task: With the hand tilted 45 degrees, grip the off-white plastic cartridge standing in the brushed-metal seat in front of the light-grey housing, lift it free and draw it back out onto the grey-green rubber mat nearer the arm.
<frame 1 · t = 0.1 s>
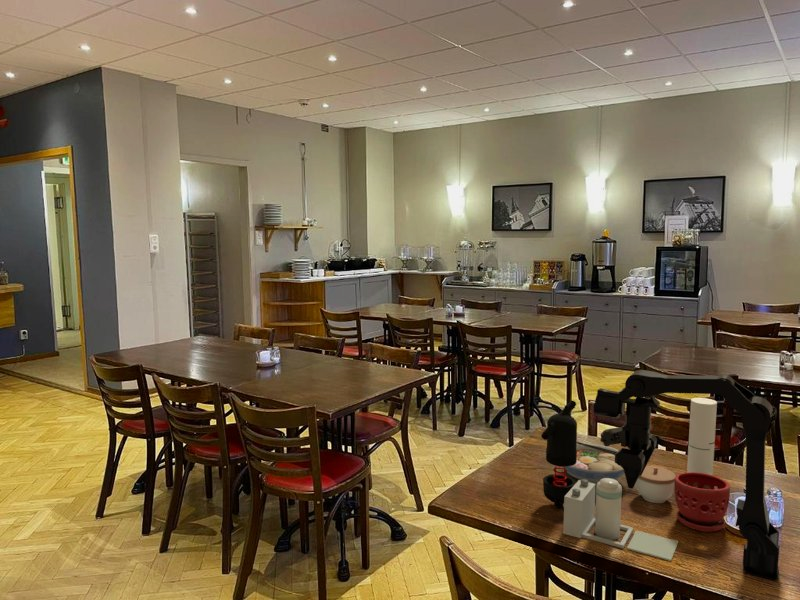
hand: (634, 481, 152), 15 cm above the table, tool pointing down, fingers open, 9 cm apart
cartridge: (607, 533, 156), resting in housing
black spring figurine: (555, 508, 170), on the table
mat: (652, 545, 150), on the table
lidded jar: (654, 499, 176), on the table
cylindrical container: (699, 479, 189), on the table
ramen bowl: (592, 479, 189), on the table
housing: (607, 533, 156), on the table
plant pot: (699, 523, 161), on the table
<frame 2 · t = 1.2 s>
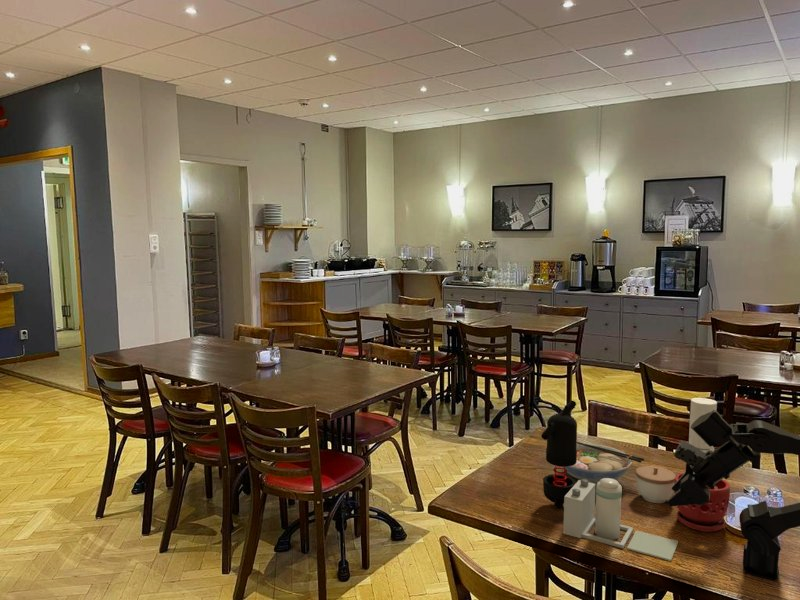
hand: (670, 497, 147), 13 cm above the table, tool tilted 45°, fingers open, 9 cm apart
nothing on the table moved.
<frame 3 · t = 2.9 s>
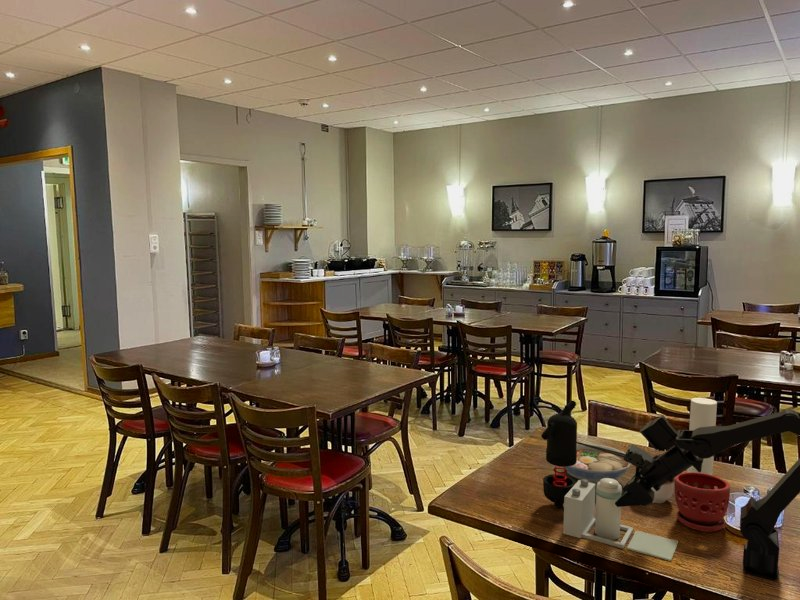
hand: (619, 497, 153), 10 cm above the table, tool tilted 45°, fingers open, 9 cm apart
nothing on the table moved.
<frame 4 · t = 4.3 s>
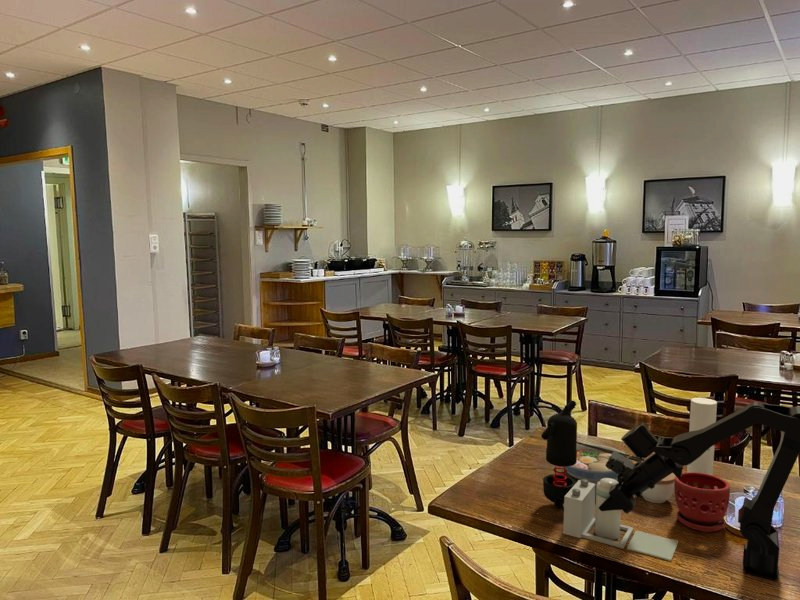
hand: (602, 504, 155), 8 cm above the table, tool tilted 45°, fingers closed on cartridge, 6 cm apart
cartridge: (607, 533, 156), resting in housing, touching gripper
everything else where it was.
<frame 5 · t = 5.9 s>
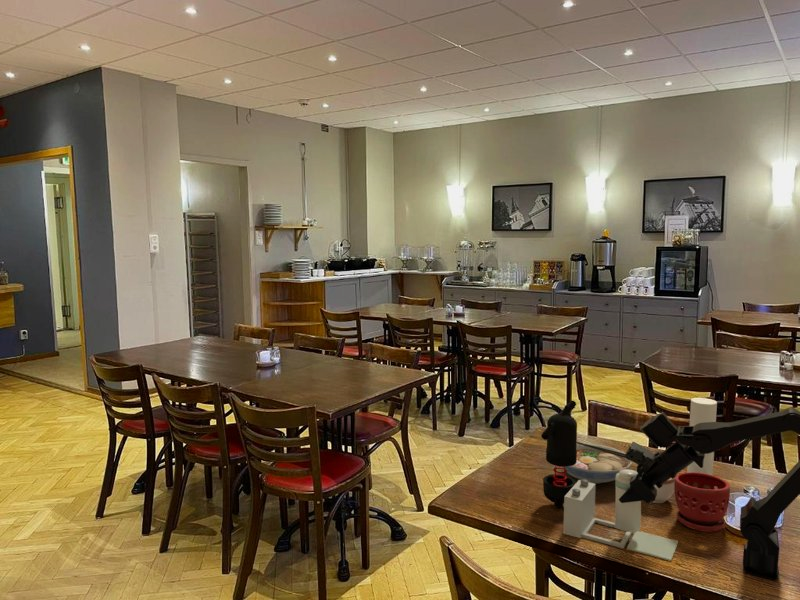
hand: (622, 496, 153), 11 cm above the table, tool tilted 45°, fingers closed on cartridge, 6 cm apart
cartridge: (627, 526, 153), point 3 cm above the table, touching gripper
everything else where it was.
when the fingers open (9 cm above the table, at t = 7.4 s): cartridge stays where it is, resting on mat.
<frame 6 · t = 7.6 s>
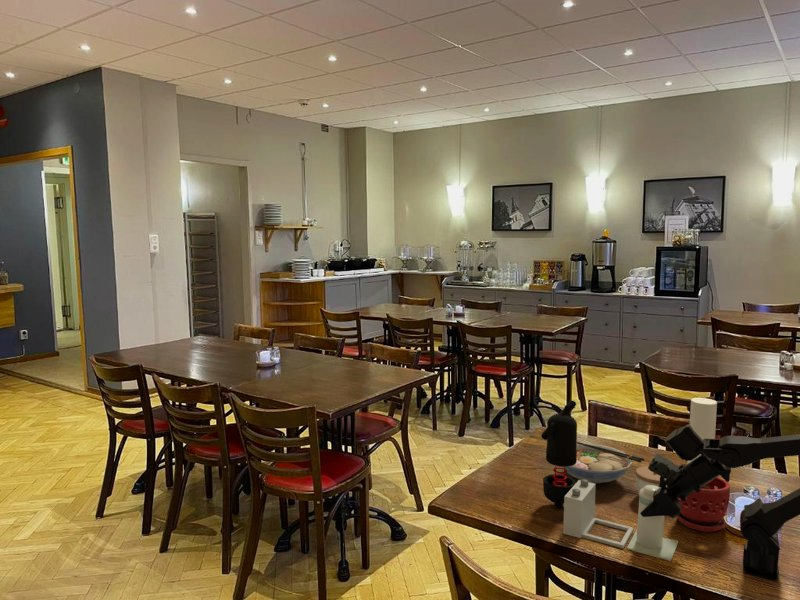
hand: (644, 508, 150), 9 cm above the table, tool tilted 45°, fingers open, 8 cm apart
cartridge: (649, 542, 150), resting on mat
everything else where it was.
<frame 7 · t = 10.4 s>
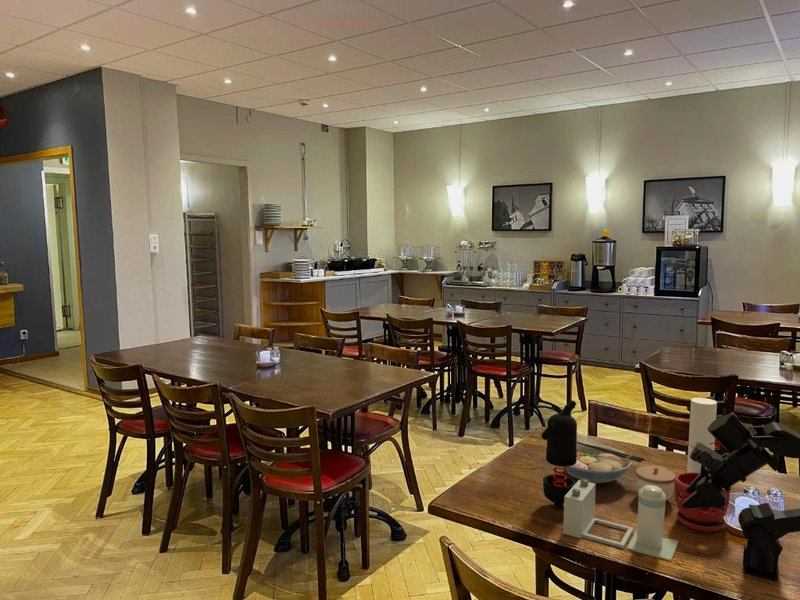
hand: (685, 499, 145), 14 cm above the table, tool tilted 45°, fingers open, 9 cm apart
nothing on the table moved.
at the end: cartridge inside the target area (0.5 cm from its centre), point 0.5 cm above the table; cartridge touching mat; the gripper is holding nothing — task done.
